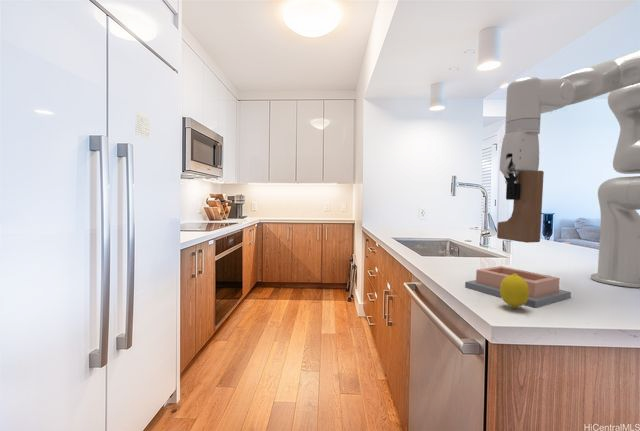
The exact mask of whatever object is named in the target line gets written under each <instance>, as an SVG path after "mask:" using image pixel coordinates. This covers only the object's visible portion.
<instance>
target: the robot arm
mask: <svg viewBox="0 0 640 431" xmlns="http://www.w3.org/2000/svg"><path fill="white" fill-rule="evenodd" d="M605 94H608V96H607V104H608V107H609V109H610V110H611V112H612V113H613V115H614V117H615V118H616V120H617V122H618V124H619V129H620V131H619V136H618V139H617V143H616V147H615V151H614V155H613V160H612V167H613V170H614V171H615V172H616V173H620V174H622V175H623V174H624V175H635V174H636V176H621V177H620V176H619V177H613V178H610V179H607V180H605V181H603V182H602V183H601V184H600V185H599V186H598V189H597V198H598V204H599V210H600V212H599V213H600V227H599V243H598V259H597V260H598V262H597V273H591V274H590V279H591V280H593V281H596V282H599V283H602V284H608V285H613V286H619V287H625V288H627V287H628V288H637V289H638V288H640V214H639V212H637V211H638V210H640V175H638V174H640V49H637V50H634V51H631V52H629V53H627V54H623V55H621V56H619V57H616V58H613V59H609V60H607V61H603V62H600V63H597V64H595V65H594V64H593V65H591V66H588V67H584V68H581V69H578V70H576V71H574V72H570V73H569V74H566V75H564V76H562V77H559V78H557V77H556V78H545V79H540V78H538V77H535V76H534V77H533V76H527V77H521V78H518V79H515V80H513V81H512V82H510V83H509V84H508V86H507V88H506V102H505V103H506V104H505V105H506V108H505V126H504V128H505V129H504V130H505V132H504V136H503V138H502V143H501V149H500V158H499V171H500V172H501V173H502V175H503V176H504V179H505V180H504V182H505V184H506V190H505V199H506V200H507V201H514V200H519V199H520V185H521V184H518V183H519V179H520V173H521V172H522V171H526V170H538V171H539V168H540V167H539V166H540V140H539V134H541V116H542V114H544V113H549V112H552V111H556V110H560V109H563V108H564V107H568V106H570V105H575V104H579V103H582V102H585V101H589V100H591V99H592V100H593V99H594V98H597V97H600V96H603V95H605ZM637 175H638V176H637Z"/></svg>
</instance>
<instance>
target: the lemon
mask: <svg viewBox="0 0 640 431" xmlns="http://www.w3.org/2000/svg"><path fill="white" fill-rule="evenodd" d="M500 295H501V297H502V298H501V299H502V301H503V302H504V303H505V304H507V305H508V306H510V307H511V309H517V308H519V307H521V306H523V305H524V304H525V303H526V302H527V300H528V298H529V288H528V284H527V282H526V281H525V280H524V279H523V278H522V277H520V276H518V275H517V274H512V275H509V276H506V277H505V278H504V279H503V280H502V282H501V285H500Z"/></svg>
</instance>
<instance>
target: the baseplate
mask: <svg viewBox="0 0 640 431" xmlns="http://www.w3.org/2000/svg"><path fill="white" fill-rule="evenodd" d="M475 272H476V274H475V277H476V278H475V279H473V280H468V281H465V284H464V286H465V288H468V289H470V290H473V291H477V292H481V293H484V294H487V295H491V296H495V297H497V298H501V299H502V297H501V295H500V285H501V282H502V280H503V279H504V278H505V277H506V276H509V275H512V274H517V275H518V276H520V277H522V278H523V279H524V280H525V281H526V282H527V284H528V288H529V298H528V300H527V302H526V303H525V304H524V305H525V306H528V307H532V308H539V307H542V306H546V305H550V304H555V303H557V302H561V301H564V300H567V299H571V298H572V297H571V296H572V291H569V290H568V291H567V290H565V289H560V277H556V276H551V275H546V274H541V273H538V272H537V273H536V272H532V271H529V270H528V271H527V270H522V269H516V268H511V267H507V266H502V265H499V266H492V267H491V266H490V267H486V268H480V269H479V268H478V269H476V271H475Z"/></svg>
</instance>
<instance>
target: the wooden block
mask: <svg viewBox="0 0 640 431" xmlns="http://www.w3.org/2000/svg"><path fill="white" fill-rule="evenodd" d="M544 173H545V172H544V170H539V169H538V170H526V171H522V172H521V173H520V179H519V183H518V184H521V185H520V199H519V200H513V208H512V209H513V210H512V213H511V216H509V217H510V218H508V219H507V220H504V221H498V222H497V228H496V229H497V232H496V234H497V235H496V238H497V239H500V240H507V241H513V242H521V243H529V244H531V243H540V242H541V233H542V232H541V229H542V210H543V193H544V192H543V189H544Z"/></svg>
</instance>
